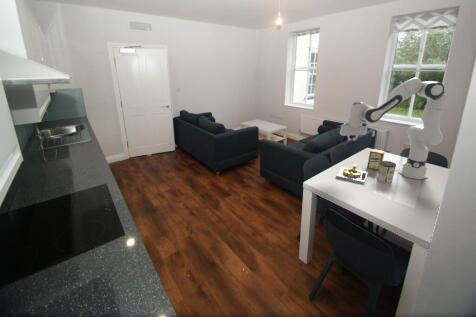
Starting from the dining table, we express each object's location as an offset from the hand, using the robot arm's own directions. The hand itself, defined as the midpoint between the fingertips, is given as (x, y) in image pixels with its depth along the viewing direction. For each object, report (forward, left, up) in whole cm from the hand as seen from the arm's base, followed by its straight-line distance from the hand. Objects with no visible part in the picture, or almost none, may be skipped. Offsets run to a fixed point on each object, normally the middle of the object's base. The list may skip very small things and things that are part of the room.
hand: (351, 140), depth 184 cm
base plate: (+7, +5, -27) cm, 29 cm away
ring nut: (+5, +5, -25) cm, 26 cm away
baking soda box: (-19, +18, -27) cm, 38 cm away
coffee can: (+2, +27, -27) cm, 39 cm away
